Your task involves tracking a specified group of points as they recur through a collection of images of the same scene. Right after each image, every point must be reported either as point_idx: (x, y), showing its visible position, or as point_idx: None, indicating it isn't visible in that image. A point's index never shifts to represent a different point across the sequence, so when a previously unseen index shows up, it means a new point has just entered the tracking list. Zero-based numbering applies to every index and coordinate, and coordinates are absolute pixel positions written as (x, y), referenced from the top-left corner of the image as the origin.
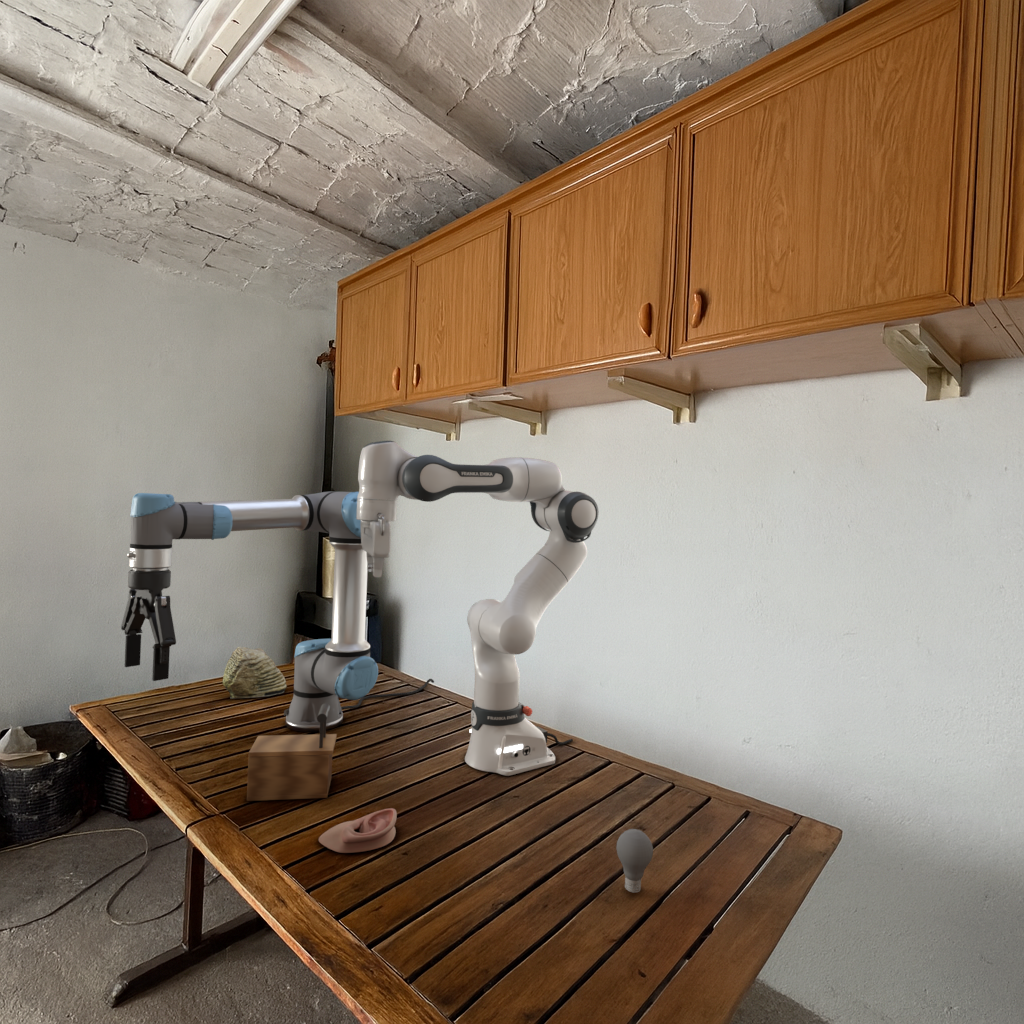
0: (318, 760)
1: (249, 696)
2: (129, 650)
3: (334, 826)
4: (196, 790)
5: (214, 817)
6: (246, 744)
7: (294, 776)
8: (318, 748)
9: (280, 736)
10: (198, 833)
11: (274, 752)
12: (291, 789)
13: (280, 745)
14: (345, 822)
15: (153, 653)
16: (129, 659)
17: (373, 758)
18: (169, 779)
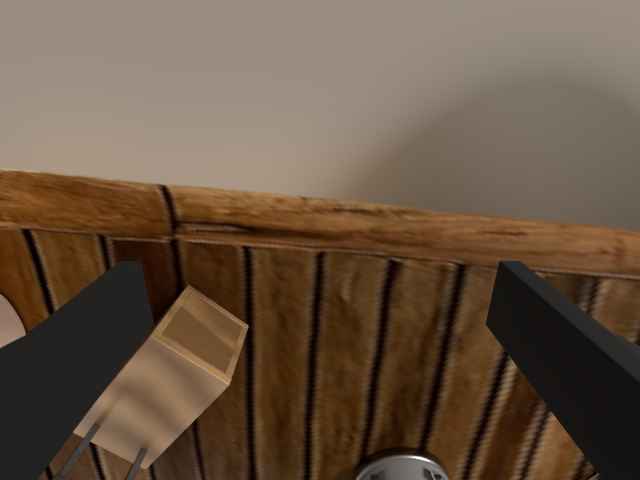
0: None
1: (599, 475)
2: (557, 333)
3: (10, 323)
4: (284, 249)
5: (165, 226)
6: (402, 379)
7: (130, 356)
8: (92, 421)
9: (196, 407)
10: (126, 185)
11: (124, 366)
12: (143, 339)
13: (149, 387)
14: (7, 337)
15: (20, 367)
16: (519, 298)
17: (207, 462)
18: (362, 236)
